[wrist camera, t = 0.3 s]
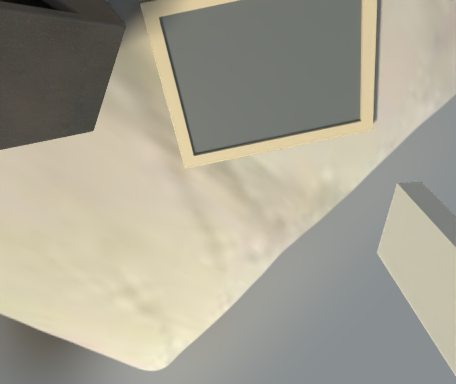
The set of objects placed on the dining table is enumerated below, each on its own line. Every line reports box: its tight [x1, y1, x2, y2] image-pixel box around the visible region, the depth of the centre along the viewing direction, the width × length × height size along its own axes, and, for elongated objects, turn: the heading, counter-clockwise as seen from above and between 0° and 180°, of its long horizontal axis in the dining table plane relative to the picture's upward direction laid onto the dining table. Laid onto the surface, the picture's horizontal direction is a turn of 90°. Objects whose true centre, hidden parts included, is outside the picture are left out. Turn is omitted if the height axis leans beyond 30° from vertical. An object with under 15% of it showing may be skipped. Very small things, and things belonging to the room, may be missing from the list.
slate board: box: [140, 0, 377, 169], centre depth 36 cm, size 15×19×1 cm
